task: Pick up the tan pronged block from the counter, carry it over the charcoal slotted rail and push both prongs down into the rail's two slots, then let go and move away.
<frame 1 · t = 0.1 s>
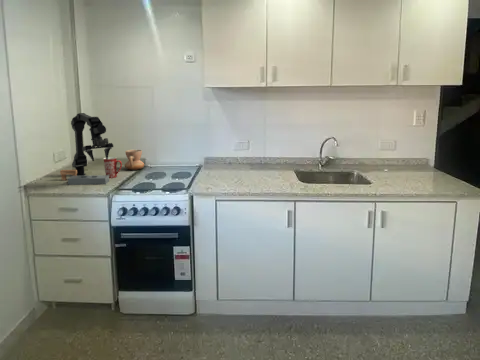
hand: (100, 160, 287), 15 cm above the counter, tool pointing down, fingers open, 9 cm apart
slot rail: (89, 182, 292), on the counter
mug: (113, 177, 309), on the counter
ceramic jug: (134, 169, 336), on the counter
tan pronged block: (69, 179, 302), on the counter
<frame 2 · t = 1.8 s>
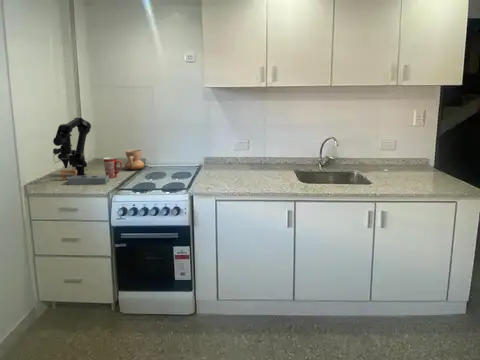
hand: (68, 166, 300), 9 cm above the counter, tool pointing down, fingers open, 9 cm apart
nothing on the counter moved.
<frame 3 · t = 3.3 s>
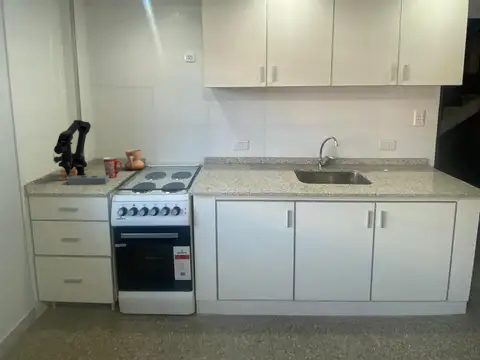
hand: (69, 174, 301), 4 cm above the counter, tool pointing down, fingers closed on tan pronged block, 3 cm apart
tan pronged block: (69, 179, 301), on the counter, touching gripper
everything else where it was.
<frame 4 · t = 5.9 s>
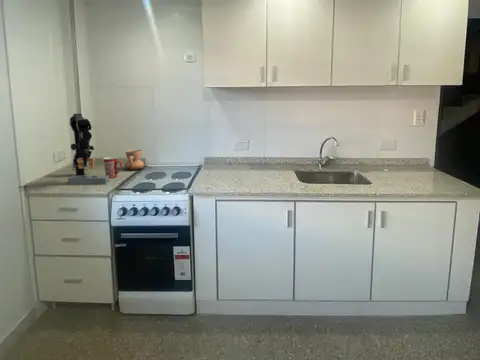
hand: (86, 162, 290), 13 cm above the counter, tool pointing down, fingers closed on tan pronged block, 3 cm apart
tan pronged block: (86, 168, 290), point 10 cm above the counter, touching gripper
everything else where it was.
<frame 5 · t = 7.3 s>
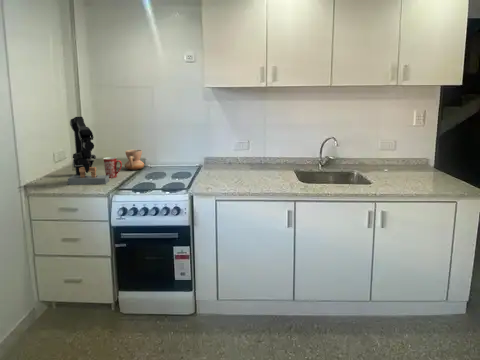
hand: (88, 172, 291), 7 cm above the counter, tool pointing down, fingers closed on tan pronged block, 3 cm apart
tan pronged block: (88, 177, 292), point 4 cm above the counter, touching gripper
everything else where it was.
when the fingers open (5 cm above the counter, at t = 8.4 s): tan pronged block stays where it is, resting on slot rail.
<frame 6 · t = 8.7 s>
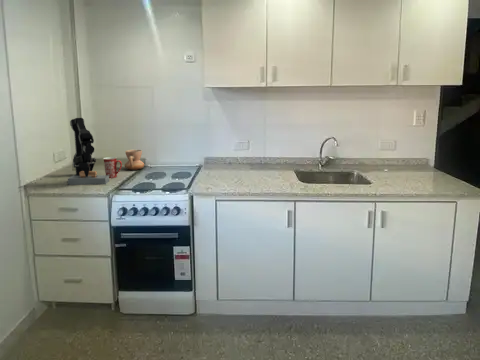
hand: (88, 175, 291), 5 cm above the counter, tool pointing down, fingers open, 7 cm apart
tan pronged block: (88, 181, 292), point 1 cm above the counter, touching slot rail
everything else where it was.
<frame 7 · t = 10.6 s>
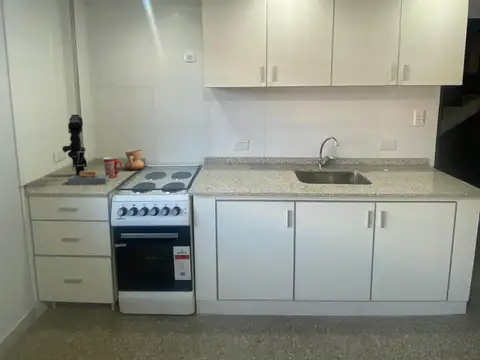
hand: (77, 164, 293), 12 cm above the counter, tool pointing down, fingers open, 9 cm apart
nothing on the counter moved.
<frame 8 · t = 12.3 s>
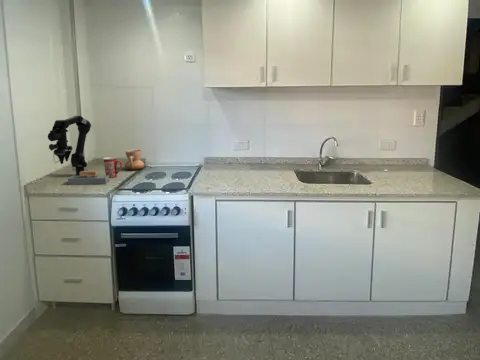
hand: (64, 162, 298), 12 cm above the counter, tool pointing down, fingers open, 9 cm apart
nothing on the counter moved.
at the end: tan pronged block 0.1 cm off-centre on the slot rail, point 1.0 cm above the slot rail's base; tan pronged block tilted 0°; the gripper is holding nothing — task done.
